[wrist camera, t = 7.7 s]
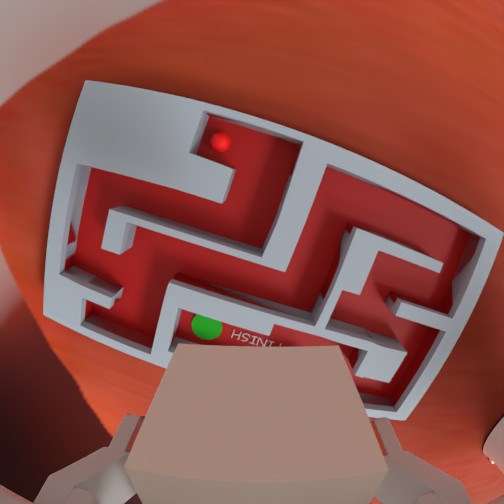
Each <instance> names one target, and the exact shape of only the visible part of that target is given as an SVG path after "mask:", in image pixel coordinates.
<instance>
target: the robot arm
mask: <svg viewBox="0 0 504 504" xmlns="http://www.w3.org/2000/svg"><path fill="white" fill-rule="evenodd" d="M144 419H145V417H144V416H138V415H133V414H127V415H125V416H124V418H123V420H122V422H121V424H120V426H119V428H118V430H117V431H116V433H115V435H114V437H113V439H112V441H111V443H110V445H109V447H108V448H107V447H103V448H101V449H99V450H98V451H96V452H94V453H92V454H90V455H88V456H87V457H85V458H83V459H81V460H79V461H77V462H76V463H73V464H71V465H69V466H67V467H66V468H64V469H62V470H60V471H58V472H56V473H53V474H52V475H50V476H49V477H48V479H47V481H46V482H45V484H44V486H43V487H42V489H41V491H40V493H39V494H38V496H37V498H36V500H35V501H34V503H32V502H29V501H28V500H26V499H24V498H22V497H20V496H18V495H17V494H15V493H13V492H11V491H10V490H8V489H6V488H5V487H3V486H1V485H0V504H124V503H125V502H126V501H127V500H128V499H130V498H131V497H132V496H133V495H135V494H136V493H137V492H136V490H135V488H134V486H133V484H132V482H131V480H130V478H129V476H128V474H127V472H126V470H125V468H124V466H125V463H126V461H127V458H128V456H129V454H130V451H131V449H132V447H133V444H134V442H135V440H136V437H137V435H138V433H139V430H140V428H141V426H142V423H143V421H144ZM369 420H370V419H369ZM370 423H371V425H372V428H373V430H374V433H375V436H376V438H377V441H378V443H379V446H380V449H381V451H382V454H383V456H384V459H385V462H386V464H387V467H388V470H389V471H388V472H387V474H386V476H385V478H384V480H383V482H382V483H381V485H380V487H379V489H378V490H377V492H376V494H375V495H374V497H375V498H376V499H377V500H379V501H380V502H381V503H382V504H472V502H471V500H470V498H469V496H468V494H467V492H466V490H465V488H464V486H463V484H462V482H461V481H459V480H458V479H456V478H454V477H452V476H450V475H448V474H447V473H445V472H443V471H441V470H440V469H438V468H436V467H434V466H433V465H431V464H429V463H427V462H426V461H424V460H422V459H421V458H419V457H417V456H416V455H414V454H412V453H411V452H409V451H405V452H404V451H403V449H402V447H401V444H400V442H399V440H398V438H397V436H396V434H395V431H394V429H393V427H392V425H391V423H390V421H389V419H388V418H387V417H383V418H377V419H371V420H370ZM483 453H484V454H485V455H486V456H487V457H488V458H489V461H490V462H491V463H492V464H494V463H495V464H496V466H497V467H498V468H499V469H500V470H501V472H502V473H503V474H504V417H503V418H502V419H501V420H500V422H499V423H498V424H497V425H496V427H495V428H494V429H493V431H492V432H491V433H490V435H489V437H488V438H487V440H486V442H485V444H484V447H483ZM488 504H504V495H502V496H501V497H499V498H497V499H495V500H493V501H491V502H490V503H488Z"/></svg>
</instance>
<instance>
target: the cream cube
mask: <svg viewBox="0 0 504 504" xmlns="http://www.w3.org/2000/svg"><path fill="white" fill-rule="evenodd" d="M124 468H125V470H126V472H127V474H128V476H129V478H130V480H131V482H132V484H133V486H134V488H135V490H136V492H137V494H138V496H139V498H140V499H141V501H142V503H143V504H370V502H371V500H372V499H373V497H374V495H375V494H376V492H377V490H378V489H379V487H380V485H381V483H382V482H383V480H384V478H385V476H386V474H387V472H388V471H389V470H388V467H387V464H386V462H385V459H384V456H383V454H382V451H381V449H380V446H379V443H378V441H377V438H376V436H375V433H374V430H373V428H372V425H371V423H370V420H369V418H368V415H367V413H366V410H365V408H364V405H363V403H362V400H361V398H360V395H359V393H358V390H357V388H356V386H355V383H354V381H353V378H352V376H351V374H350V371H349V369H348V366H347V364H346V362H345V359H344V357H343V355H342V352H341V350H340V348H339V345H336V346H303V347H251V346H218V345H197V344H181V343H178V345H177V347H176V349H175V351H174V353H173V356H172V358H171V360H170V362H169V364H168V367H167V369H166V371H165V373H164V376H163V378H162V380H161V382H160V384H159V387H158V389H157V391H156V393H155V396H154V398H153V400H152V403H151V405H150V407H149V409H148V412H147V414H146V416H145V419H144V421H143V423H142V426H141V428H140V430H139V433H138V435H137V437H136V440H135V442H134V444H133V447H132V449H131V451H130V454H129V456H128V458H127V461H126V463H125V466H124Z"/></svg>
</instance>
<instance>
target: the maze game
mask: <svg viewBox="0 0 504 504" xmlns="http://www.w3.org/2000/svg"><path fill="white" fill-rule="evenodd" d="M503 235H504V233H503V232H502V231H500V230H499V229H497V228H496V227H494V226H493V225H491V224H489V223H488V222H486V221H485V220H483V219H481V218H480V217H478V216H477V215H475V214H473V213H472V212H470V211H468V210H467V209H465V208H463V207H461V206H460V205H458V204H456V203H454V202H453V201H451V200H449V199H447V198H446V197H444V196H442V195H440V194H438V193H436V192H435V191H433V190H431V189H429V188H427V187H425V186H423V185H421V184H419V183H417V182H416V181H414V180H412V179H410V178H408V177H406V176H404V175H401V174H399V173H397V172H395V171H393V170H391V169H389V168H387V167H385V166H383V165H380V164H378V163H376V162H374V161H372V160H369V159H367V158H365V157H362V156H360V155H358V154H356V153H353V152H351V151H348V150H346V149H344V148H341V147H339V146H336V145H334V144H331V143H329V142H326V141H324V140H321V139H318V138H316V137H313V136H311V135H308V134H305V133H302V132H300V131H297V130H294V129H291V128H288V127H285V126H282V125H280V124H277V123H274V122H271V121H267V120H264V119H261V118H258V117H255V116H252V115H248V114H245V113H242V112H238V111H235V110H231V109H228V108H224V107H220V106H217V105H213V104H209V103H205V102H201V101H197V100H193V99H189V98H185V97H180V96H176V95H171V94H167V93H162V92H157V91H152V90H147V89H142V88H136V87H130V86H124V85H118V84H112V83H105V82H97V81H89V80H85V83H84V86H83V88H82V91H81V94H80V97H79V100H78V103H77V106H76V109H75V112H74V116H73V119H72V122H71V126H70V129H69V133H68V136H67V140H66V144H65V148H64V152H63V156H62V160H61V164H60V169H59V173H58V178H57V183H56V188H55V194H54V199H53V205H52V212H51V218H50V226H49V233H48V242H47V252H46V263H45V278H44V307H43V315H45V316H47V317H48V318H50V319H52V320H54V321H56V322H58V323H60V324H62V325H64V326H66V327H68V328H70V329H72V330H74V331H77V332H79V333H81V334H83V335H85V336H87V337H89V338H92V339H94V340H96V341H98V342H101V343H103V344H105V345H107V346H110V347H112V348H114V349H117V350H119V351H122V352H124V353H127V354H129V355H131V356H134V357H137V358H139V359H142V360H144V361H147V362H150V363H152V364H155V365H158V366H160V367H163V368H166V369H167V367H168V364H169V362H170V360H171V358H172V356H173V353H174V351H175V349H176V347H177V345H178V343H181V344H197V345H218V346H251V347H303V346H336V345H339V348H340V350H341V352H342V355H343V357H344V359H345V362H346V364H347V366H348V369H349V371H350V374H351V376H352V378H353V381H354V383H355V386H356V388H357V390H358V393H359V395H360V398H361V400H362V403H363V405H364V408H365V410H366V413H367V415H368V417H374V418H383V417H387V418H388V419H393V420H404V421H405V420H406V419H407V417H408V416H409V415H410V413H411V412H412V411H413V409H414V408H415V407H416V405H417V404H418V402H419V401H420V399H421V398H422V397H423V395H424V394H425V392H426V391H427V389H428V388H429V386H430V385H431V383H432V382H433V380H434V379H435V377H436V376H437V374H438V372H439V371H440V369H441V368H442V366H443V364H444V363H445V361H446V359H447V358H448V356H449V354H450V352H451V351H452V349H453V347H454V345H455V344H456V342H457V340H458V338H459V336H460V335H461V333H462V331H463V329H464V327H465V325H466V323H467V321H468V319H469V317H470V315H471V313H472V311H473V309H474V307H475V305H476V303H477V301H478V298H479V296H480V294H481V292H482V289H483V287H484V285H485V283H486V280H487V278H488V275H489V273H490V270H491V268H492V265H493V263H494V260H495V258H496V255H497V252H498V249H499V247H500V244H501V241H502V238H503Z"/></svg>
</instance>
